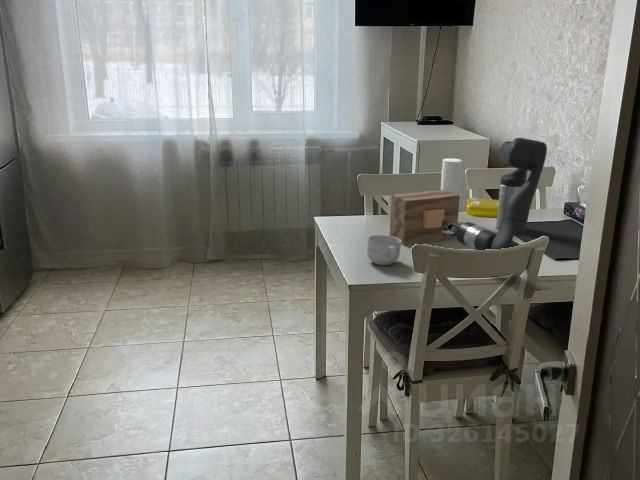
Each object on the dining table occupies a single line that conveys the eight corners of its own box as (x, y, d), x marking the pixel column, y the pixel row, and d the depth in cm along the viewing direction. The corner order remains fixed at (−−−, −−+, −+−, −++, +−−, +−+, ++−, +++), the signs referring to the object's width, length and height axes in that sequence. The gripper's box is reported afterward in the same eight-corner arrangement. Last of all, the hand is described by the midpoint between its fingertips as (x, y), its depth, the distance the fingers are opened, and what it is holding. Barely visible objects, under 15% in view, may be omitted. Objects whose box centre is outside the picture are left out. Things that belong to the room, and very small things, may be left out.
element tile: (503, 219, 255) (504, 207, 253) (465, 216, 258) (466, 205, 256) (502, 209, 269) (503, 198, 267) (466, 207, 272) (467, 196, 270)
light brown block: (443, 226, 220) (444, 210, 218) (426, 228, 217) (427, 211, 216) (431, 220, 227) (432, 204, 225) (414, 222, 224) (415, 206, 223)
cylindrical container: (443, 219, 251) (447, 157, 244) (459, 222, 247) (464, 159, 240) (435, 223, 246) (439, 160, 238) (452, 226, 242) (457, 162, 234)
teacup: (364, 257, 206) (365, 233, 204) (396, 256, 207) (397, 233, 205) (371, 271, 193) (372, 247, 191) (405, 271, 194) (406, 246, 192)
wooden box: (456, 238, 227) (459, 195, 222) (403, 245, 218) (405, 201, 214) (440, 231, 235) (443, 189, 231) (389, 237, 227) (391, 194, 222)
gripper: (492, 223, 199) (461, 210, 214) (457, 227, 194) (427, 214, 209) (490, 245, 201) (459, 231, 217) (456, 250, 196) (426, 235, 212)
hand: (443, 223), depth 213 cm, fingers closed
